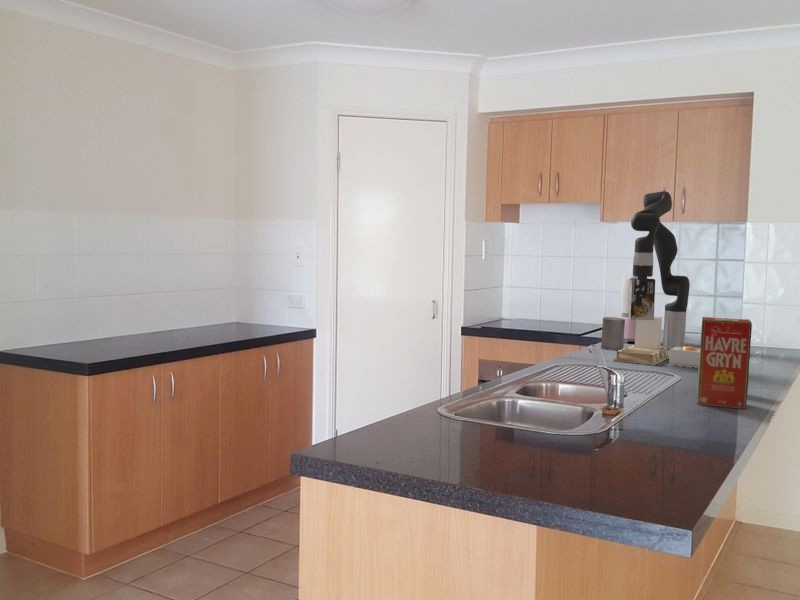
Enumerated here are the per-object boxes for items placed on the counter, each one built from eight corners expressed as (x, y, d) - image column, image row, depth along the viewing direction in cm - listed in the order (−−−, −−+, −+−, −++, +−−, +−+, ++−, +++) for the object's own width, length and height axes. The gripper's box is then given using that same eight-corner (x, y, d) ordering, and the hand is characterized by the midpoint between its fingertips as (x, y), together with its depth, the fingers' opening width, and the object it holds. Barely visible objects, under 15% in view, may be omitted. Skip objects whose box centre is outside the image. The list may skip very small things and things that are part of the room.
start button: (683, 358, 298) (683, 345, 297) (696, 359, 295) (696, 347, 295) (680, 359, 294) (681, 347, 293) (693, 361, 291) (694, 348, 291)
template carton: (637, 353, 317) (639, 315, 316) (659, 355, 312) (662, 316, 311) (634, 354, 312) (636, 316, 311) (656, 356, 307) (658, 317, 306)
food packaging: (696, 404, 218) (701, 318, 216) (696, 399, 226) (701, 316, 225) (747, 409, 213) (753, 321, 211) (744, 403, 222) (750, 319, 220)
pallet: (631, 353, 321) (631, 344, 321) (670, 357, 313) (670, 348, 313) (613, 361, 298) (613, 351, 298) (654, 365, 290) (655, 355, 290)
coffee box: (651, 319, 301) (653, 278, 299) (653, 320, 294) (656, 279, 293) (628, 317, 302) (630, 277, 301) (629, 319, 296) (631, 278, 295)
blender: (646, 344, 354) (650, 276, 351) (619, 343, 356) (622, 275, 353) (641, 340, 369) (645, 275, 367) (615, 339, 371) (619, 274, 369)
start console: (675, 361, 303) (676, 346, 302) (707, 364, 297) (708, 349, 296) (668, 365, 293) (669, 349, 292) (701, 368, 286) (702, 352, 286)
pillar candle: (596, 347, 339) (598, 314, 338) (615, 346, 342) (617, 314, 341) (609, 350, 330) (611, 316, 329) (628, 350, 333) (630, 316, 332)
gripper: (638, 263, 305) (635, 304, 306) (628, 264, 292) (626, 306, 294) (657, 264, 301) (654, 305, 302) (648, 264, 288) (646, 307, 290)
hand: (640, 305), depth 298 cm, fingers closed on coffee box, 8 cm apart
